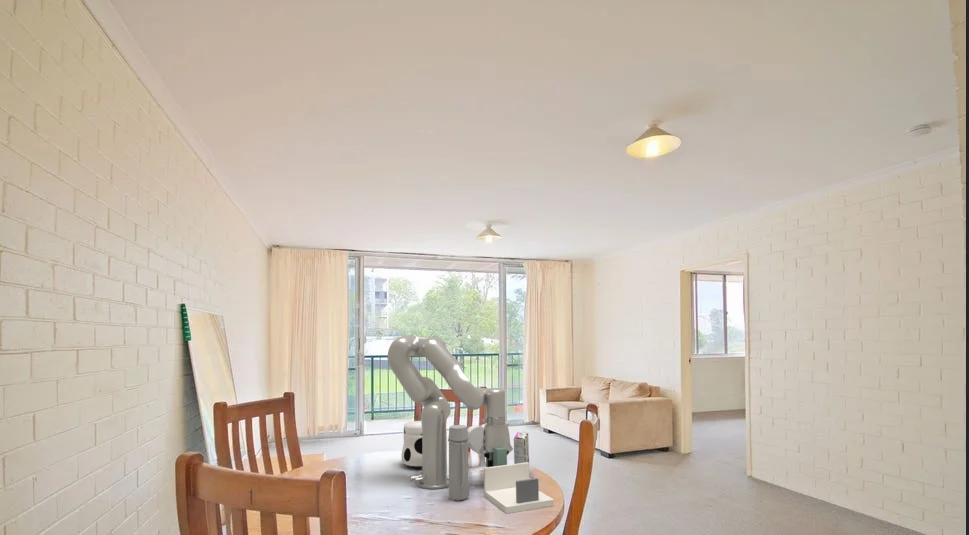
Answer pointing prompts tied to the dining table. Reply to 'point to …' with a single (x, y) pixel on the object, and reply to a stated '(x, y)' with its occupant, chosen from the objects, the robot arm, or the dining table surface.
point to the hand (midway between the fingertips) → (496, 469)
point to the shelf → (514, 488)
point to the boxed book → (499, 457)
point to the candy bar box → (521, 448)
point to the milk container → (412, 444)
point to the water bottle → (458, 462)
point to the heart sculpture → (476, 444)
